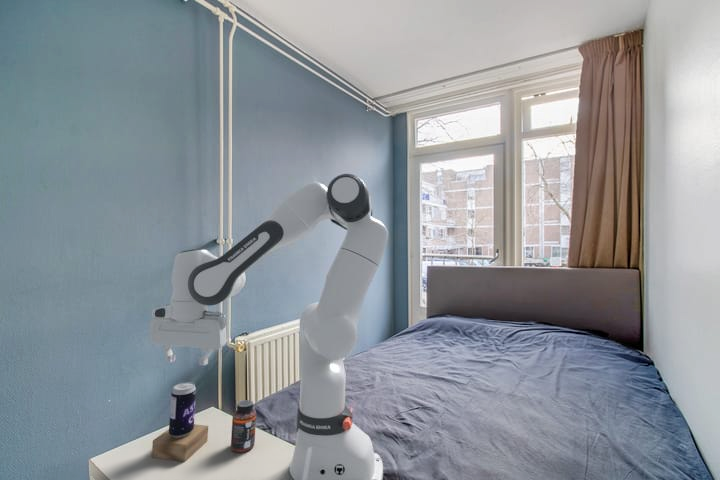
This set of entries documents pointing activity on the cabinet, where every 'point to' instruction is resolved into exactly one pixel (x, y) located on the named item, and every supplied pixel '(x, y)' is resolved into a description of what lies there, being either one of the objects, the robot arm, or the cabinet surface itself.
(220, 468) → the cabinet surface
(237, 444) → the supplement bottle
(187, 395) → the beverage can
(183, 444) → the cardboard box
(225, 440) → the cabinet surface
